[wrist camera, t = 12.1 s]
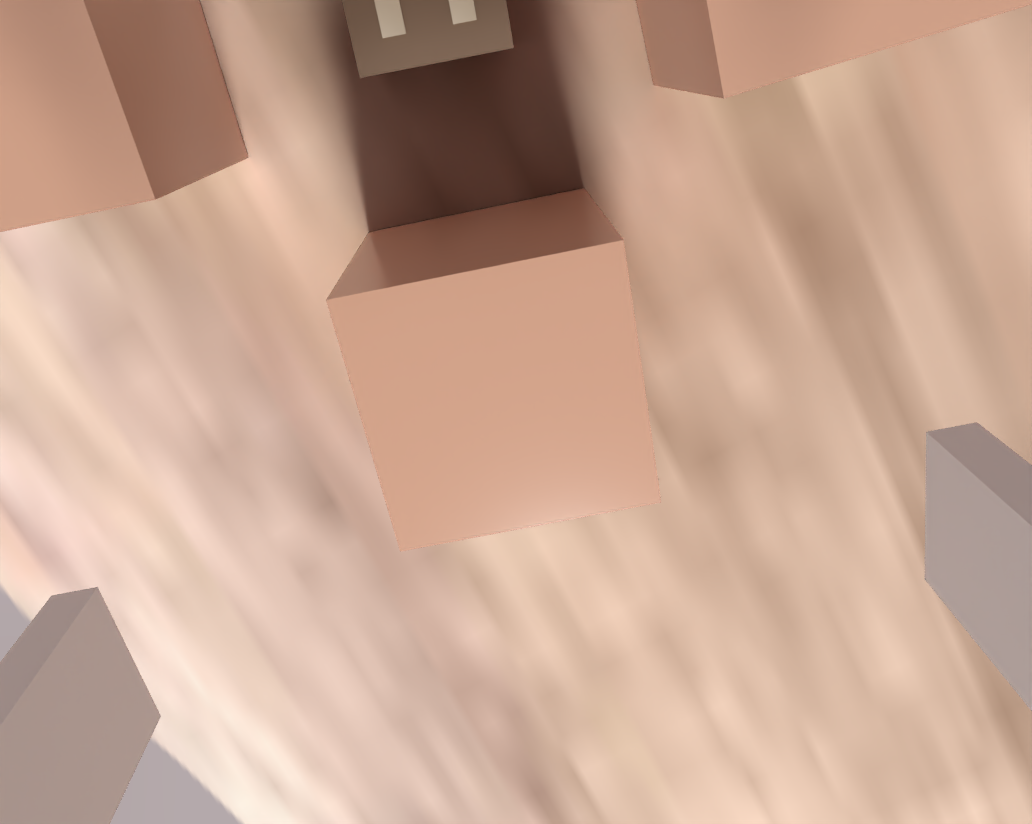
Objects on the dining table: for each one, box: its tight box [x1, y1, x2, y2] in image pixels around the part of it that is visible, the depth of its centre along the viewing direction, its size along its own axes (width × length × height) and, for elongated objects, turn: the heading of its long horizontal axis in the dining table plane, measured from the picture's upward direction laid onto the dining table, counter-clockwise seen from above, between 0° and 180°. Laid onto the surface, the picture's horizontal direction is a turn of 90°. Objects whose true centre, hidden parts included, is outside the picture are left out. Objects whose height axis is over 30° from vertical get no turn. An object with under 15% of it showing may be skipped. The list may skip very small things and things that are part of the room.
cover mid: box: [326, 188, 661, 551], centre depth 24 cm, size 7×7×8 cm
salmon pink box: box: [0, 0, 248, 232], centre depth 21 cm, size 7×7×8 cm
